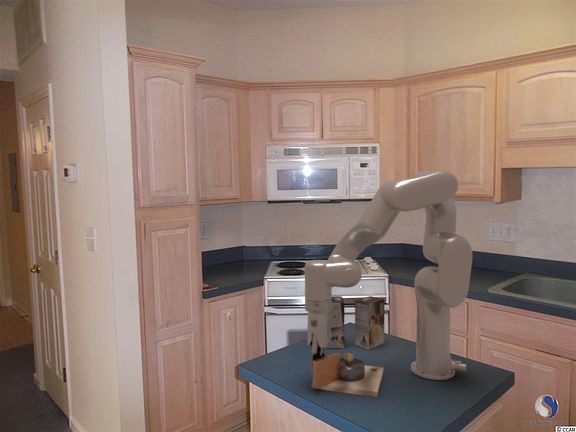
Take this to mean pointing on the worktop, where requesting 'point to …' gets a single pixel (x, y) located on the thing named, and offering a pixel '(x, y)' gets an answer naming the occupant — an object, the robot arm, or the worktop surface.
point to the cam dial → (337, 369)
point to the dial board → (358, 383)
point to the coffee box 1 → (337, 323)
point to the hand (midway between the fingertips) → (318, 367)
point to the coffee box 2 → (369, 322)
